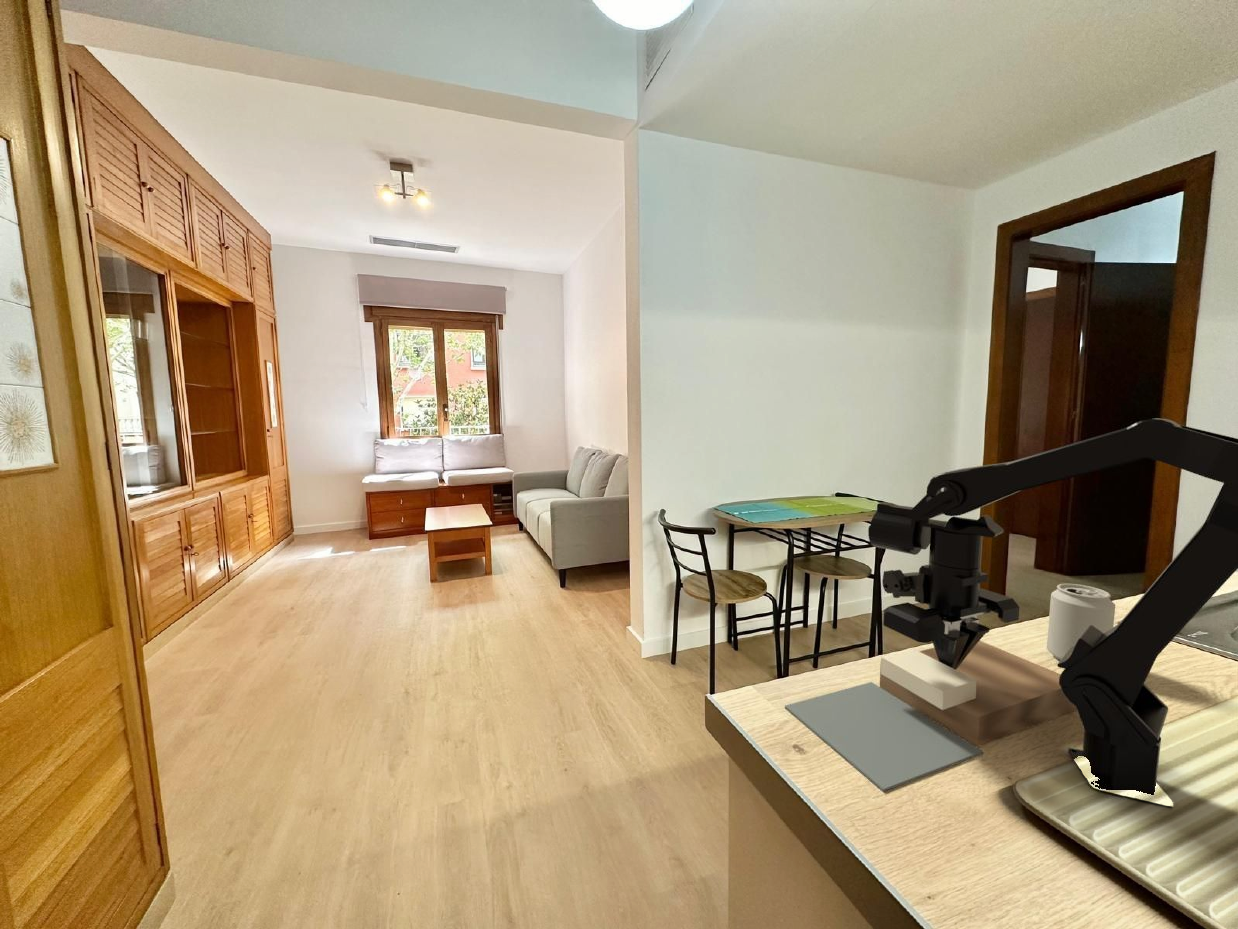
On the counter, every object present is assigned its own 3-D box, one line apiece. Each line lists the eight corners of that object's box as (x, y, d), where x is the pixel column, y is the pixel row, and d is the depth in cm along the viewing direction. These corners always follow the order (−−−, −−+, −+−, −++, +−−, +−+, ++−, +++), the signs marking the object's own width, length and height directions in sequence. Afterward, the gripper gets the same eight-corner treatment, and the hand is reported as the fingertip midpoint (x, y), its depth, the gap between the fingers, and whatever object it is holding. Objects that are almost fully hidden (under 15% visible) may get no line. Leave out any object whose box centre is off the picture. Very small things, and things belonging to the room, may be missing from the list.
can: (1045, 644, 84) (1050, 577, 82) (1105, 657, 79) (1112, 587, 77) (1047, 662, 78) (1053, 590, 76) (1113, 677, 73) (1120, 601, 72)
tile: (911, 664, 70) (912, 648, 70) (975, 698, 62) (976, 680, 61) (880, 673, 68) (881, 657, 68) (942, 710, 60) (943, 691, 59)
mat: (871, 683, 72) (871, 682, 72) (982, 753, 57) (983, 751, 57) (784, 707, 67) (784, 705, 67) (883, 791, 52) (883, 789, 52)
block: (971, 660, 78) (972, 637, 78) (1077, 710, 65) (1079, 682, 65) (879, 686, 72) (880, 661, 71) (977, 747, 59) (979, 716, 58)
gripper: (945, 540, 75) (939, 635, 77) (852, 554, 69) (849, 657, 70) (1025, 560, 65) (1017, 670, 66) (925, 579, 58) (919, 699, 60)
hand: (947, 672), depth 66 cm, fingers closed
